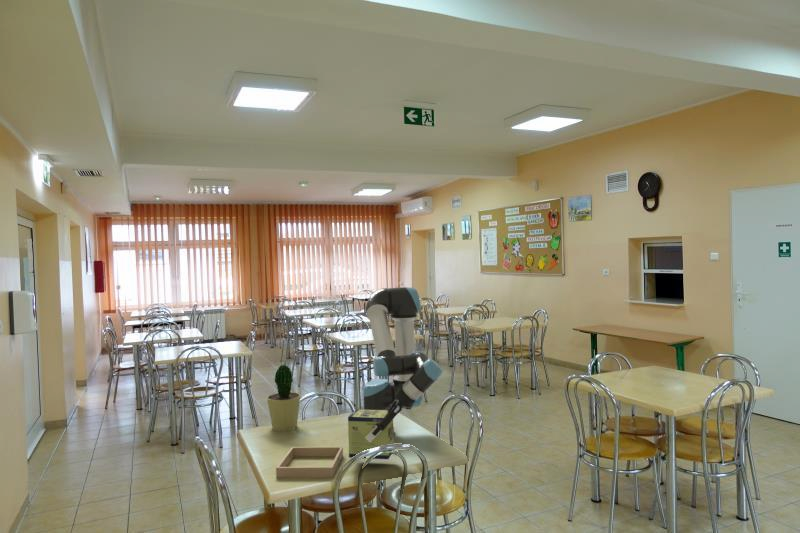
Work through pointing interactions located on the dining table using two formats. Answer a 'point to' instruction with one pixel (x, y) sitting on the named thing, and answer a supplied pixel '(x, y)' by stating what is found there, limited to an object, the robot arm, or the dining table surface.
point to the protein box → (360, 428)
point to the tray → (309, 471)
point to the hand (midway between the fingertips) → (369, 434)
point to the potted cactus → (283, 401)
